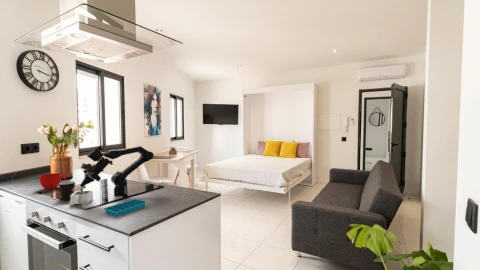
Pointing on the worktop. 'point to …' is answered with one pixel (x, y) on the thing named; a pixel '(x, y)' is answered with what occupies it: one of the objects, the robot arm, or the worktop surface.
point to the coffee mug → (66, 189)
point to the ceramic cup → (51, 180)
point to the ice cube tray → (125, 207)
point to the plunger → (81, 188)
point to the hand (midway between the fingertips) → (80, 186)
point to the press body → (81, 197)
